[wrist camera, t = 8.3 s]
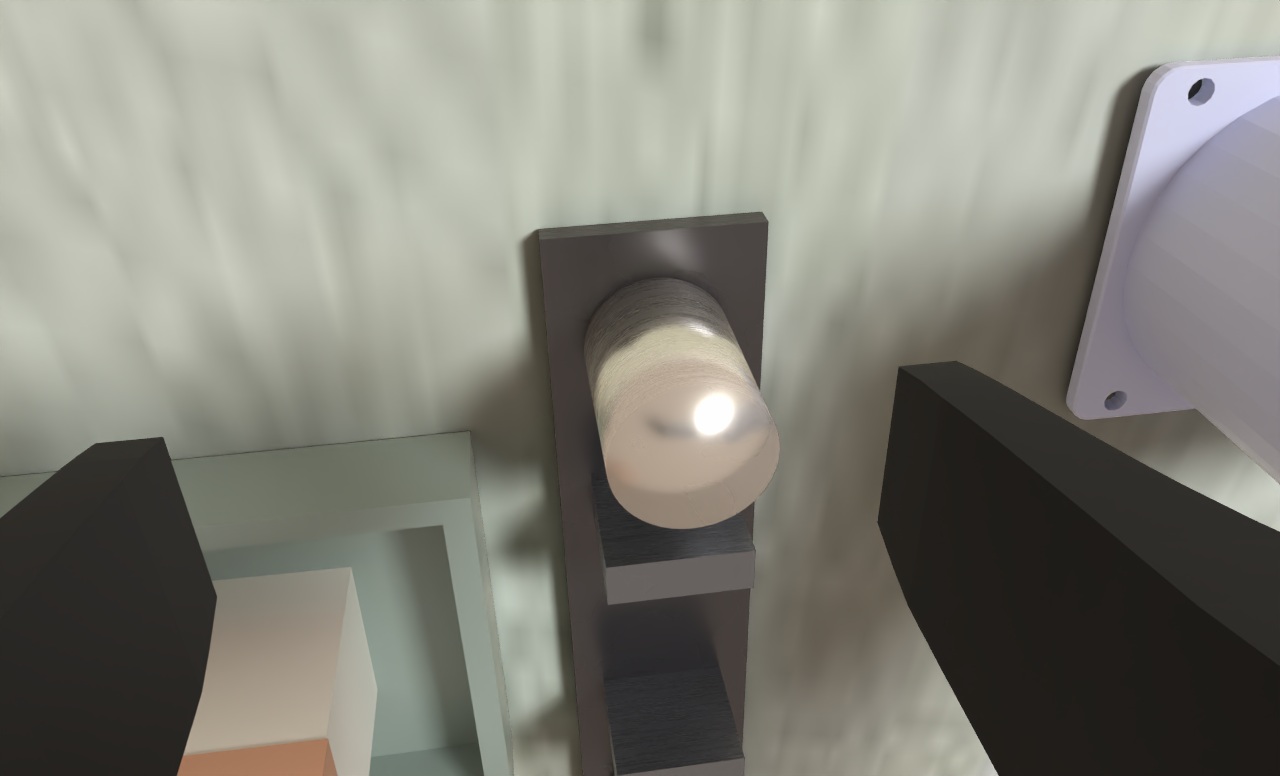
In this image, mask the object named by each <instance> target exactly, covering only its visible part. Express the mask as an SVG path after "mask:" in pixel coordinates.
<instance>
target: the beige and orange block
mask: <svg viewBox="0 0 1280 776" xmlns="http://www.w3.org/2000/svg"><path fill="white" fill-rule="evenodd" d="M212 583H213V586H214V589H215V592H216V595H217V602H216V609H215V616H214V623H213V630H212V637H211V643H210V650H209V656H208V661H207V667H206V673H205V678H204V684H203V690H202V694H201V697H200V701H199V704H198V708H197V711H196V715H195V718H194V721H193V725H192V728H191V731H190V734H189V738H188V741H187V744H186V748H185V751H184V754H183V758H182V761H181V764H180V767H179V771H178V774H177V776H369V771H370V761H371V751H372V740H373V730H374V720H375V710H376V700H377V685H376V680H375V676H374V671H373V666H372V662H371V657H370V652H369V648H368V643H367V638H366V634H365V629H364V624H363V620H362V615H361V610H360V606H359V601H358V596H357V592H356V587H355V582H354V578H353V573H352V568H351V567H345V568H335V569H325V570H315V571H305V572H295V573H285V574H275V575H265V576H255V577H245V578H235V579H225V580H215V581H212Z"/></svg>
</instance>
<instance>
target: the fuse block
mask: <svg viewBox="0 0 1280 776" xmlns="http://www.w3.org/2000/svg"><path fill="white" fill-rule="evenodd" d="M538 234H539V246H540V258H541V270H542V283H543V295H544V307H545V319H546V331H547V343H548V355H549V368H550V380H551V392H552V404H553V416H554V428H555V440H556V453H557V465H558V477H559V489H560V501H561V513H562V525H563V538H564V550H565V562H566V574H567V586H568V598H569V610H570V623H571V635H572V647H573V659H574V671H575V683H576V696H577V708H578V720H579V732H580V744H581V756H582V768H583V776H744V761H745V758H744V754H743V750H742V739H743V720H744V700H745V680H746V660H747V640H748V620H749V600H750V588H754V571H755V552H756V551H755V548H754V545H753V542H752V540H753V520H754V501H755V500H756V499H757V498H758V497H759V496H760V495H761V494H762V492H763V491H764V490H765V489H766V487H767V486H768V484H769V483H770V481H771V479H772V477H773V475H774V473H775V471H776V468H777V464H778V461H779V454H780V441H779V435H778V431H777V429H776V426H775V423H774V421H773V419H772V417H771V415H770V412H769V410H768V408H767V406H766V404H765V401H764V399H763V397H762V395H761V393H760V380H761V360H762V340H763V320H764V300H765V280H766V261H767V241H768V220H767V219H766V217H765V216H764V214H763V213H762V212H754V213H741V214H728V215H715V216H702V217H689V218H676V219H664V220H651V221H638V222H625V223H612V224H599V225H586V226H573V227H560V228H547V229H538Z"/></svg>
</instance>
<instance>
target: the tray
mask: <svg viewBox="0 0 1280 776" xmlns="http://www.w3.org/2000/svg"><path fill="white" fill-rule="evenodd" d="M171 462H172V465H173V468H174V471H175V474H176V477H177V480H178V483H179V486H180V488H181V491H182V494H183V497H184V500H185V503H186V506H187V509H188V512H189V515H190V518H191V521H192V524H193V527H194V530H195V533H196V536H197V539H198V542H199V545H200V547H201V550H202V553H203V556H204V559H205V562H206V565H207V568H208V571H209V574H210V577H211V580H212V581H215V580H225V579H235V578H245V577H255V576H265V575H275V574H285V573H295V572H305V571H315V570H325V569H335V568H345V567H351V568H352V573H353V578H354V582H355V587H356V592H357V596H358V601H359V606H360V610H361V615H362V620H363V624H364V629H365V634H366V638H367V643H368V648H369V652H370V657H371V662H372V666H373V671H374V676H375V680H376V685H377V700H376V710H375V720H374V730H373V740H372V751H371V761H370V771H369V776H514V768H513V745H512V733H511V725H510V718H509V711H508V704H507V696H506V689H505V682H504V675H503V667H502V660H501V653H500V646H499V638H498V631H497V624H496V616H495V609H494V602H493V595H492V587H491V580H490V573H489V566H488V558H487V551H486V544H485V536H484V529H483V522H482V515H481V507H480V500H479V493H478V486H477V478H476V471H475V464H474V457H473V449H472V442H471V435H470V431H466V432H455V433H445V434H435V435H425V436H415V437H404V438H394V439H384V440H374V441H364V442H354V443H343V444H333V445H323V446H313V447H303V448H293V449H282V450H272V451H262V452H252V453H242V454H232V455H221V456H211V457H201V458H191V459H181V460H171ZM55 473H56V472H49V473H38V474H28V475H18V476H8V477H0V518H1V517H2V516H3V515H5V514H6V513H7V512H8V511H9V510H11V509H12V508H13V507H14V506H16V505H17V504H18V503H19V502H20V501H22V500H23V499H24V498H25V497H27V496H28V495H29V494H30V493H31V492H33V491H34V490H35V489H36V488H38V487H39V486H40V485H41V484H42V483H44V482H45V481H46V480H47V479H49V478H50V477H51V476H52V475H54V474H55Z"/></svg>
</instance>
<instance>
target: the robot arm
mask: <svg viewBox="0 0 1280 776" xmlns="http://www.w3.org/2000/svg"><path fill="white" fill-rule="evenodd" d="M1200 79H1202V86H1201V88H1200V90H1199V92H1198V93H1197V94H1196V95H1195V96H1194V97H1192V98H1190V99H1188V92H1189V90H1190V88H1191V86H1192V85H1193V84H1194V83H1195V82H1197V81H1198V80H1200ZM1116 391H1117V392H1116ZM1113 392H1116V394H1115V395H1114V396H1113V397H1112V398H1111V399H1109V400H1106V398H1107V397H1108V396H1109V395H1110V394H1111V393H1113ZM1105 400H1106V401H1105ZM1066 404H1067V406H1068V408H1069V409H1070V410H1071V411H1072V412H1073V414H1074V415H1075V416H1077V417H1078V418H1080V419H1084V420H1093V419H1103V418H1112V417H1122V416H1131V415H1141V414H1151V413H1160V412H1170V411H1179V410H1189V409H1197V410H1198V411H1199V412H1200V413H1201V414H1202V415H1203V416H1205V417H1206V418H1207V419H1208V420H1209V421H1210V422H1211V423H1212V424H1213V425H1215V426H1216V427H1217V428H1218V429H1219V430H1220V431H1221V432H1222V433H1223V434H1225V435H1226V436H1227V437H1228V438H1229V439H1230V440H1231V441H1232V442H1233V443H1235V444H1236V445H1237V446H1238V447H1239V448H1240V449H1241V450H1242V451H1243V452H1245V453H1246V454H1247V455H1248V456H1249V457H1250V458H1251V459H1252V460H1253V461H1255V462H1256V463H1257V464H1258V465H1259V466H1260V467H1261V468H1262V469H1263V470H1265V471H1266V472H1267V473H1268V474H1269V475H1270V476H1271V477H1272V478H1273V479H1275V480H1276V481H1277V482H1278V483H1279V484H1280V55H1277V56H1261V57H1245V58H1230V59H1214V60H1198V61H1182V62H1171V63H1168V64H1164V65H1162V66H1160V67H1159V68H1157V69H1156V70H1154V71H1153V72H1152V74H1151V75H1150V76H1149V77H1148V78H1147V80H1146V81H1145V84H1144V86H1143V89H1142V91H1141V95H1140V99H1139V104H1138V108H1137V112H1136V116H1135V120H1134V124H1133V128H1132V132H1131V136H1130V140H1129V144H1128V148H1127V152H1126V156H1125V161H1124V165H1123V169H1122V173H1121V177H1120V181H1119V185H1118V189H1117V193H1116V197H1115V201H1114V205H1113V209H1112V213H1111V217H1110V222H1109V226H1108V230H1107V234H1106V238H1105V242H1104V246H1103V250H1102V254H1101V258H1100V262H1099V266H1098V270H1097V274H1096V279H1095V283H1094V287H1093V291H1092V295H1091V299H1090V303H1089V307H1088V311H1087V315H1086V319H1085V323H1084V327H1083V331H1082V336H1081V340H1080V344H1079V348H1078V352H1077V356H1076V360H1075V364H1074V368H1073V372H1072V376H1071V380H1070V384H1069V388H1068V393H1067V397H1066ZM878 525H879V528H880V531H881V534H882V536H883V539H884V542H885V545H886V548H887V551H888V554H889V556H890V559H891V562H892V565H893V568H894V570H895V573H896V576H897V578H898V581H899V583H900V586H901V589H902V591H903V594H904V596H905V599H906V601H907V604H908V606H909V608H910V610H911V612H912V614H913V616H914V618H915V620H916V622H917V624H918V626H919V628H920V630H921V632H922V633H923V635H924V637H925V639H926V641H927V643H928V645H929V647H930V649H931V650H932V652H933V654H934V656H935V658H936V660H937V662H938V664H939V666H940V668H941V669H942V671H943V673H944V675H945V677H946V679H947V681H948V682H949V684H950V686H951V688H952V690H953V692H954V694H955V695H956V697H957V699H958V701H959V703H960V705H961V707H962V708H963V710H964V712H965V714H966V716H967V718H968V719H969V721H970V723H971V725H972V727H973V729H974V731H975V732H976V734H977V736H978V738H979V740H980V742H981V744H982V745H983V747H984V749H985V751H986V753H987V755H988V757H989V758H990V760H991V762H992V764H993V766H994V768H995V770H996V771H997V773H998V775H999V776H1280V532H1279V531H1277V530H1275V529H1272V528H1270V527H1268V526H1266V525H1264V524H1261V523H1259V522H1257V521H1255V520H1253V519H1251V518H1249V517H1247V516H1245V515H1243V514H1241V513H1239V512H1237V511H1235V510H1233V509H1231V508H1229V507H1227V506H1225V505H1223V504H1221V503H1219V502H1217V501H1215V500H1212V499H1210V498H1208V497H1206V496H1204V495H1202V494H1200V493H1198V492H1196V491H1194V490H1192V489H1190V488H1188V487H1186V486H1184V485H1182V484H1180V483H1179V482H1177V481H1175V480H1173V479H1171V478H1169V477H1167V476H1165V475H1163V474H1162V473H1160V472H1158V471H1156V470H1154V469H1152V468H1150V467H1148V466H1146V465H1145V464H1143V463H1141V462H1139V461H1137V460H1135V459H1134V458H1132V457H1130V456H1128V455H1126V454H1124V453H1123V452H1121V451H1119V450H1117V449H1115V448H1114V447H1112V446H1110V445H1108V444H1107V443H1105V442H1103V441H1101V440H1099V439H1098V438H1096V437H1094V436H1092V435H1090V434H1089V433H1087V432H1085V431H1083V430H1082V429H1080V428H1078V427H1076V426H1075V425H1073V424H1071V423H1069V422H1068V421H1066V420H1064V419H1062V418H1061V417H1059V416H1057V415H1055V414H1054V413H1052V412H1050V411H1048V410H1047V409H1045V408H1043V407H1041V406H1040V405H1038V404H1036V403H1035V402H1033V401H1031V400H1029V399H1028V398H1026V397H1024V396H1022V395H1020V394H1019V393H1017V392H1015V391H1013V390H1012V389H1010V388H1008V387H1006V386H1004V385H1003V384H1001V383H999V382H997V381H995V380H994V379H992V378H990V377H988V376H986V375H984V374H982V373H980V372H978V371H976V370H974V369H972V368H970V367H968V366H966V365H964V364H962V363H960V362H957V361H951V362H941V363H930V364H920V365H909V366H899V368H898V376H897V383H896V391H895V398H894V405H893V413H892V420H891V427H890V435H889V442H888V449H887V457H886V464H885V471H884V479H883V486H882V493H881V501H880V508H879V515H878ZM216 602H217V595H216V592H215V589H214V586H213V583H212V580H211V577H210V574H209V571H208V568H207V565H206V562H205V559H204V556H203V553H202V550H201V547H200V545H199V542H198V539H197V536H196V533H195V530H194V527H193V524H192V521H191V518H190V515H189V512H188V509H187V506H186V503H185V500H184V497H183V494H182V491H181V488H180V486H179V483H178V480H177V477H176V474H175V471H174V468H173V465H172V462H171V459H170V456H169V453H168V450H167V447H166V444H165V441H164V438H163V437H158V438H147V439H137V440H126V441H116V442H106V443H96V444H94V445H93V446H91V447H90V448H88V449H87V450H85V451H84V452H83V453H81V454H80V455H78V456H77V457H76V458H74V459H73V460H72V461H70V462H69V463H68V464H66V465H65V466H64V467H63V468H61V469H60V470H59V471H57V472H56V473H55V474H54V475H52V476H51V477H50V478H49V479H47V480H46V481H45V482H44V483H42V484H41V485H40V486H39V487H38V488H36V489H35V490H34V491H33V492H31V493H30V494H29V495H28V496H27V497H25V498H24V499H23V500H22V501H20V502H19V503H18V504H17V505H16V506H14V507H13V508H12V509H11V510H9V511H8V512H7V513H6V514H5V515H3V516H2V517H1V518H0V776H177V774H178V771H179V767H180V764H181V761H182V758H183V754H184V751H185V748H186V744H187V741H188V738H189V734H190V731H191V728H192V725H193V721H194V718H195V715H196V711H197V708H198V704H199V701H200V697H201V694H202V690H203V684H204V678H205V673H206V667H207V661H208V656H209V650H210V643H211V637H212V630H213V623H214V616H215V609H216Z"/></svg>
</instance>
